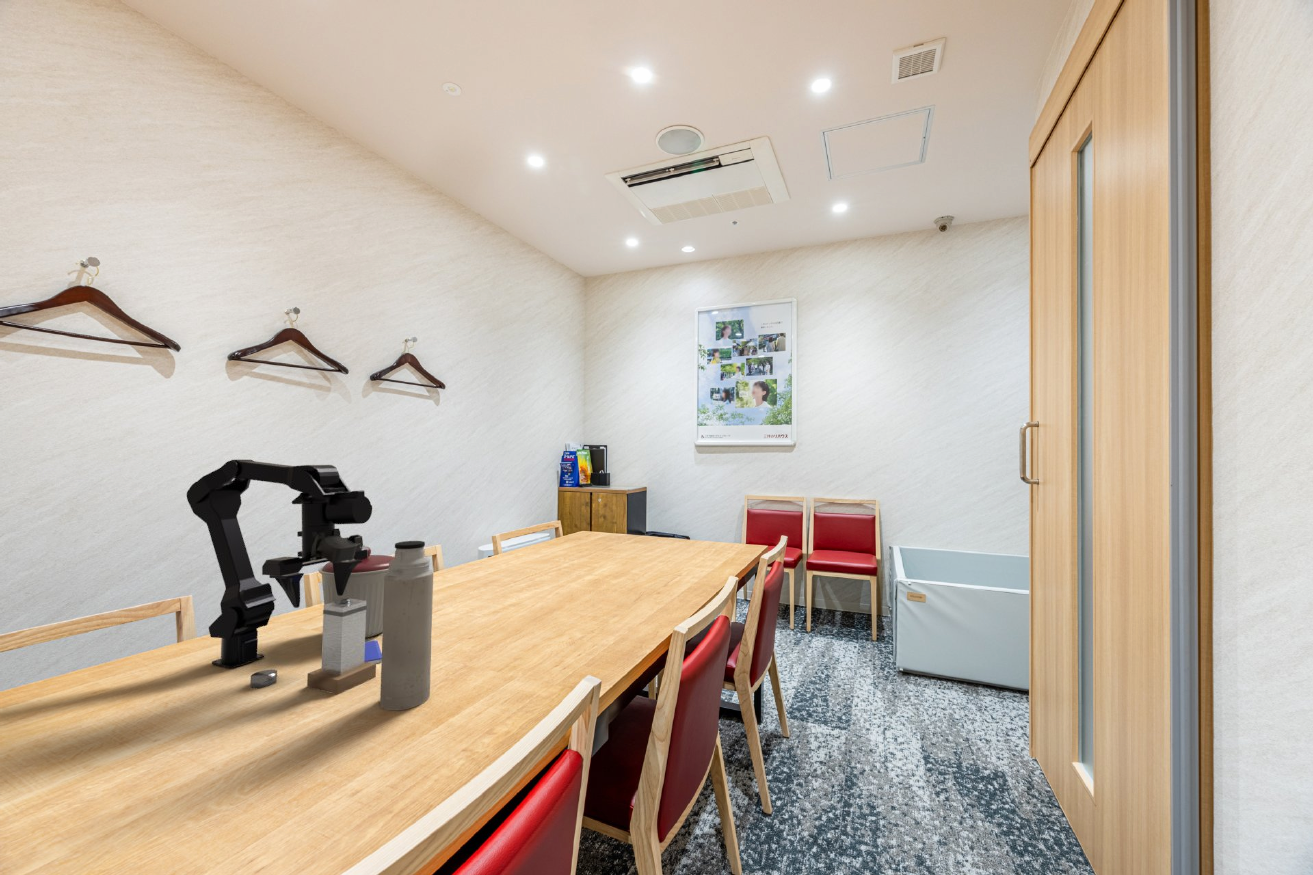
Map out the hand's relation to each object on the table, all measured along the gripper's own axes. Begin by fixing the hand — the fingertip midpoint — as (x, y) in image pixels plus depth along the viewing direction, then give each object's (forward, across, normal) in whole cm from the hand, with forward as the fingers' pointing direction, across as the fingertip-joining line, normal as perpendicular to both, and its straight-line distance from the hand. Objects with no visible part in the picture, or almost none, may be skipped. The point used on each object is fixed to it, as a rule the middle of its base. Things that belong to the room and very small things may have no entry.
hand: (319, 601), depth 104 cm
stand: (+14, -3, -10) cm, 18 cm away
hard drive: (+14, +7, -2) cm, 16 cm away
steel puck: (+13, -9, +3) cm, 16 cm away
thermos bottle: (+15, -4, -27) cm, 31 cm away
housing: (+12, -3, -10) cm, 16 cm away
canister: (+13, +18, +11) cm, 25 cm away
